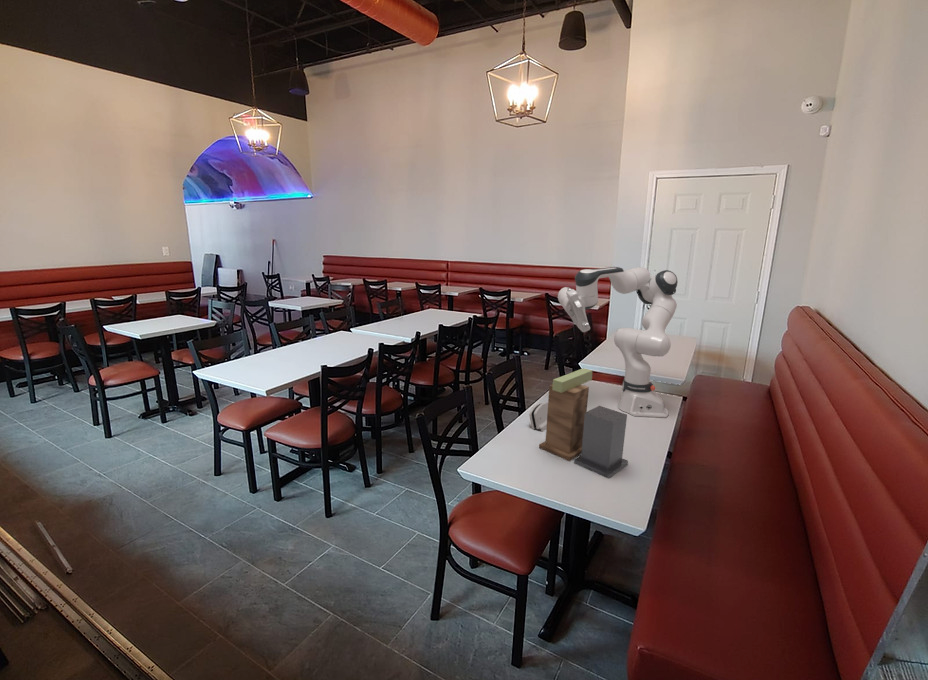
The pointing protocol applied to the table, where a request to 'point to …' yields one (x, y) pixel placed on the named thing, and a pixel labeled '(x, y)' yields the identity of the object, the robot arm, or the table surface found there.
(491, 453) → the table surface
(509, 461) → the table surface
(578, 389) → the brown wooden pedestal
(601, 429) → the block
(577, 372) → the pale green plank
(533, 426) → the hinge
